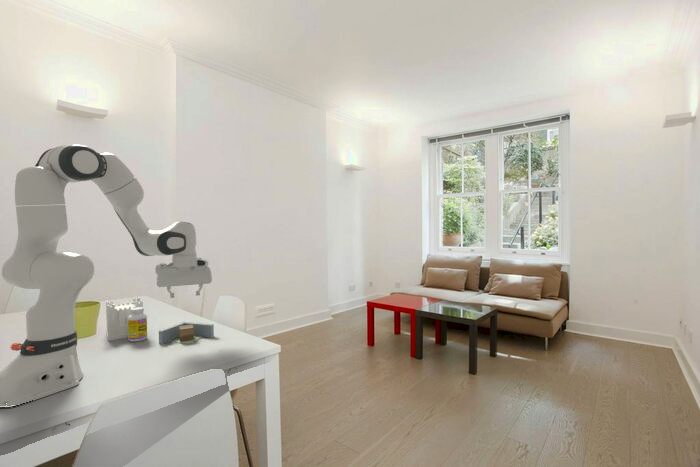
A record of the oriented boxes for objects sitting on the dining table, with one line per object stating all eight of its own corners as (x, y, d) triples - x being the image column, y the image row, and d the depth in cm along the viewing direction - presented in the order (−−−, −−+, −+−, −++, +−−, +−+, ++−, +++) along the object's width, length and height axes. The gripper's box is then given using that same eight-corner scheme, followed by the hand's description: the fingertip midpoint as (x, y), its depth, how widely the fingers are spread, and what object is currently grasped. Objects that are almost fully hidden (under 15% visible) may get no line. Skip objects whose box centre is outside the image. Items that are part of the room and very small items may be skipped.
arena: (189, 347, 136) (189, 334, 136) (158, 343, 141) (158, 330, 141) (213, 336, 149) (213, 324, 149) (184, 333, 154) (184, 321, 154)
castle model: (107, 341, 145) (106, 305, 145) (106, 332, 157) (105, 299, 157) (144, 334, 153) (143, 301, 152) (140, 326, 165) (139, 295, 164)
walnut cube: (193, 339, 144) (193, 327, 144) (180, 341, 142) (179, 329, 141) (192, 336, 148) (192, 324, 148) (179, 338, 146) (179, 326, 146)
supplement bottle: (138, 342, 142) (137, 310, 142) (124, 341, 144) (123, 310, 143) (151, 337, 149) (150, 306, 149) (137, 336, 150) (136, 306, 150)
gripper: (155, 264, 136) (155, 300, 137) (212, 261, 146) (212, 295, 146) (155, 262, 142) (156, 297, 142) (210, 260, 151) (210, 292, 152)
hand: (185, 296), depth 144 cm, fingers open, 8 cm apart
